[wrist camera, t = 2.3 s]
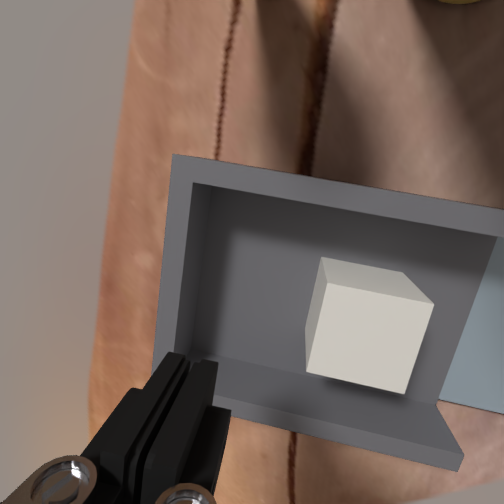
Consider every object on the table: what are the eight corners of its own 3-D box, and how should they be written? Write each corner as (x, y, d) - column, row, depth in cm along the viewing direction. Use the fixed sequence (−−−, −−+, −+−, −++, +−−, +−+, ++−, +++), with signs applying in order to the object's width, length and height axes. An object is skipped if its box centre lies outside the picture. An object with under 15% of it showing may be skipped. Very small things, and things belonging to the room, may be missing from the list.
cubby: (634, 231, 18) (737, 250, 14) (535, 439, 22) (592, 505, 18) (199, 157, 21) (172, 153, 16) (176, 356, 25) (149, 395, 20)
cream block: (402, 272, 20) (434, 304, 15) (381, 344, 22) (404, 394, 17) (321, 256, 21) (327, 282, 16) (304, 327, 22) (306, 371, 17)
